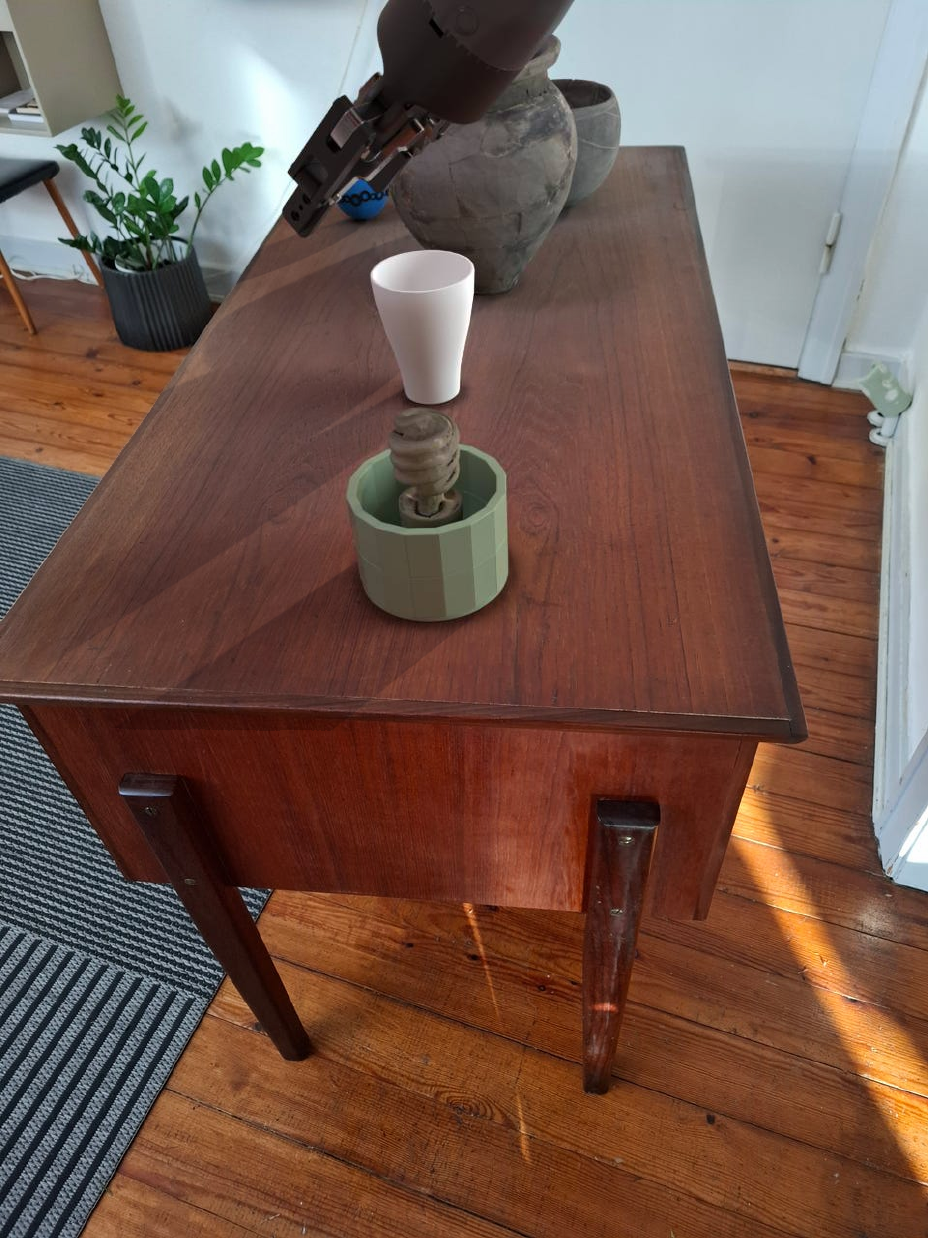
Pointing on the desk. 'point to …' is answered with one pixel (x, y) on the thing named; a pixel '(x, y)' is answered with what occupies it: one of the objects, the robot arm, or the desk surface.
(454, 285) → the cup
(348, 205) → the ornament
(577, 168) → the bowl
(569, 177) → the clay pot
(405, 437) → the light bulb
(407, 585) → the pot
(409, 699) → the desk surface
